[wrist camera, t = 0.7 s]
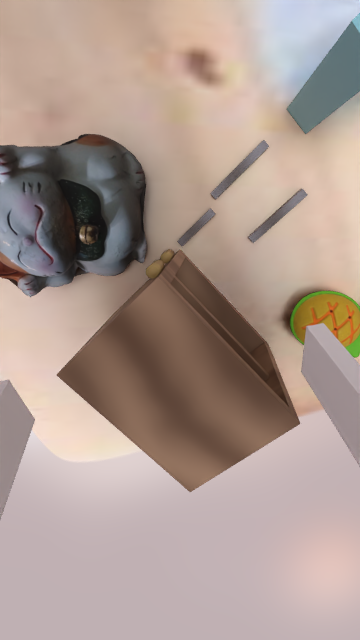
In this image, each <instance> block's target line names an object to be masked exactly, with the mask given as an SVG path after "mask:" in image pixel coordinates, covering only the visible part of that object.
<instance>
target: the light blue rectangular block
mask: <svg viewBox="0 0 360 640" xmlns="http://www.w3.org/2000/svg"><path fill="white" fill-rule="evenodd" d="M359 91H360V13H359V14H358V15H357V16H356V17H355V18H354V19H353V21H352V22H351V23H350V24H349V26H348V27H347V28H346V30H345V31H344V32H343V34H342V35H341V36H340V38H339V39H338V41H337V42H336V43H335V45H334V46H333V47H332V49H331V50H330V51H329V53H328V54H327V55H326V57H325V58H324V59H323V61H322V62H321V63H320V65H319V66H318V67H317V69H316V70H315V71H314V73H313V74H312V75H311V77H310V78H309V80H308V81H307V82H306V84H305V85H304V86H303V88H302V89H301V90H300V92H299V93H298V94H297V96H296V97H295V98H294V100H293V101H292V102H291V104H290V105H289V106H288V108H287V110H288V112H289V113H290V114H291V116H292V117H293V118H294V120H295V121H296V122H297V124H298V125H299V126H300V128H301V129H302V130H303V132H304V133H305V134H306V133H308V132H309V131H310V130H311V129H313V128H314V127H315V126H316V125H318V124H319V123H320V122H321V121H323V120H324V119H325V118H326V117H328V116H329V115H330V114H331V113H333V112H334V111H335V110H336V109H338V108H339V107H340V106H341V105H343V104H344V103H345V102H346V101H348V100H349V99H350V98H352V97H353V96H354V95H355V94H357V93H358V92H359Z"/></svg>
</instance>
